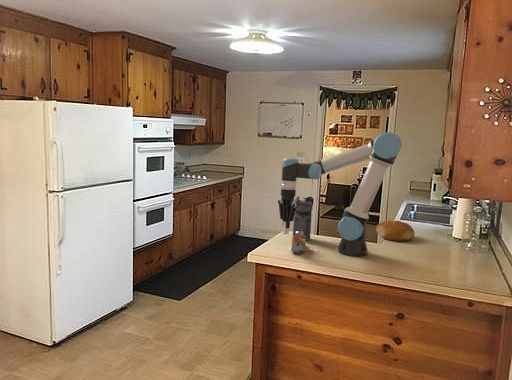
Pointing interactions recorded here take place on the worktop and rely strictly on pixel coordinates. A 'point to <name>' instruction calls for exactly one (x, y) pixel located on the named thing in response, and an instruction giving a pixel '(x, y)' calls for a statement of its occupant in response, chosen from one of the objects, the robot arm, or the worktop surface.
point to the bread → (395, 231)
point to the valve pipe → (298, 245)
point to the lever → (298, 235)
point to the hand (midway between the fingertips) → (285, 233)
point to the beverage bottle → (303, 216)
